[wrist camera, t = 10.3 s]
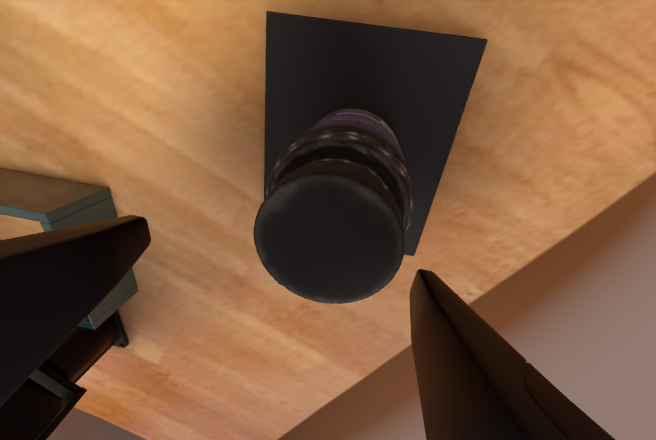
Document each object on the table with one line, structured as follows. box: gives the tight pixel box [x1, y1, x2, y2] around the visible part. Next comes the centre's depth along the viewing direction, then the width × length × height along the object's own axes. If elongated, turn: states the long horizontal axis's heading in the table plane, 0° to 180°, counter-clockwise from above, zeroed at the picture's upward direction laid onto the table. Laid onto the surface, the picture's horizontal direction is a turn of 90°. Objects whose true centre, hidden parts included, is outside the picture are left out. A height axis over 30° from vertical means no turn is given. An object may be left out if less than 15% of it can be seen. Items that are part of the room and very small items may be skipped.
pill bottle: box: [254, 108, 415, 304], centre depth 13 cm, size 6×6×11 cm
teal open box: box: [0, 168, 138, 330], centre depth 24 cm, size 12×17×5 cm
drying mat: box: [264, 11, 487, 256], centre depth 18 cm, size 14×12×1 cm
